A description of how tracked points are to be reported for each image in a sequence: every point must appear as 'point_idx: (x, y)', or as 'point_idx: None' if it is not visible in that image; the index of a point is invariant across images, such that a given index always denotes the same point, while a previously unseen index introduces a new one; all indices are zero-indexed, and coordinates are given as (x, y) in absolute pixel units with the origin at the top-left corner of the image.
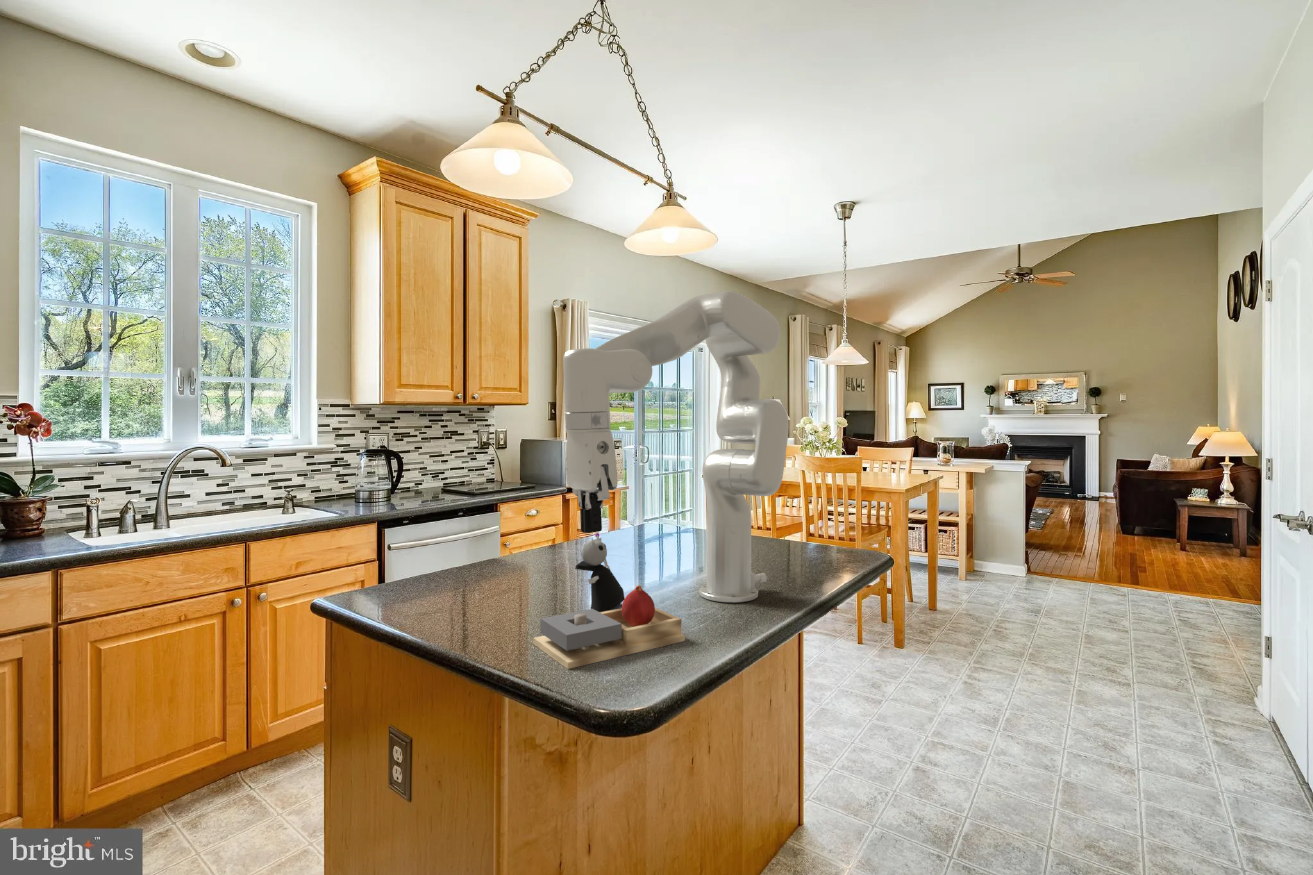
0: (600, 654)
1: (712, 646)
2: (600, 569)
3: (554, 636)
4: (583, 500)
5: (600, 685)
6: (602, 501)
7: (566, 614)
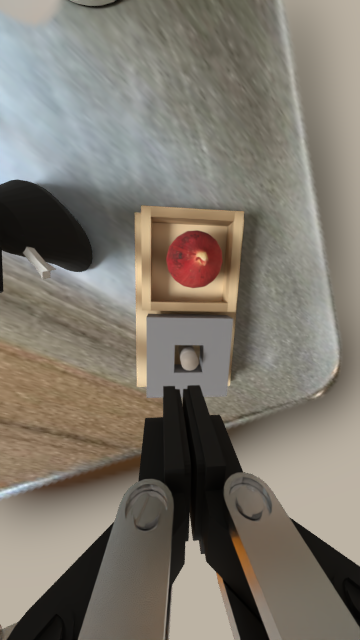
0: (232, 347)
1: (278, 203)
2: (3, 230)
3: None
4: (169, 621)
5: (279, 373)
6: (336, 553)
7: (150, 362)
